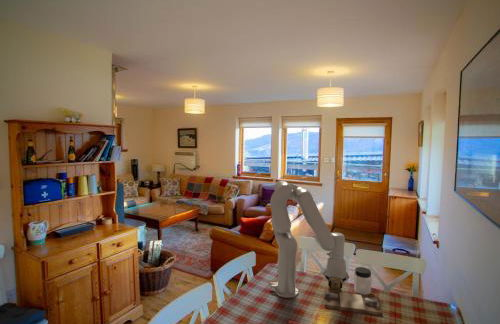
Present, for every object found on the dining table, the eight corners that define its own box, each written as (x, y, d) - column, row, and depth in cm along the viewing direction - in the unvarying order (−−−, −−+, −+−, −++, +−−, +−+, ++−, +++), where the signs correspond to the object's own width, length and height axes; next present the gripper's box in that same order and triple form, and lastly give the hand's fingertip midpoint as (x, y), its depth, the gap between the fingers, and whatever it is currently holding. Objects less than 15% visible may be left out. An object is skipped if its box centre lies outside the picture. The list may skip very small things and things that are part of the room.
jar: (362, 296, 152) (363, 274, 152) (350, 289, 159) (351, 268, 159) (374, 293, 156) (374, 271, 156) (362, 286, 163) (363, 265, 163)
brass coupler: (330, 291, 156) (331, 278, 155) (330, 286, 162) (331, 273, 162) (339, 292, 155) (340, 280, 154) (339, 287, 161) (339, 275, 161)
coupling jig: (324, 307, 142) (324, 298, 141) (324, 293, 155) (324, 285, 155) (381, 315, 135) (382, 306, 135) (376, 300, 149) (376, 292, 148)
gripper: (320, 256, 156) (319, 289, 157) (353, 260, 152) (351, 294, 153) (320, 251, 163) (319, 283, 164) (352, 255, 159) (350, 287, 160)
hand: (335, 288), depth 158 cm, fingers closed on brass coupler, 4 cm apart
